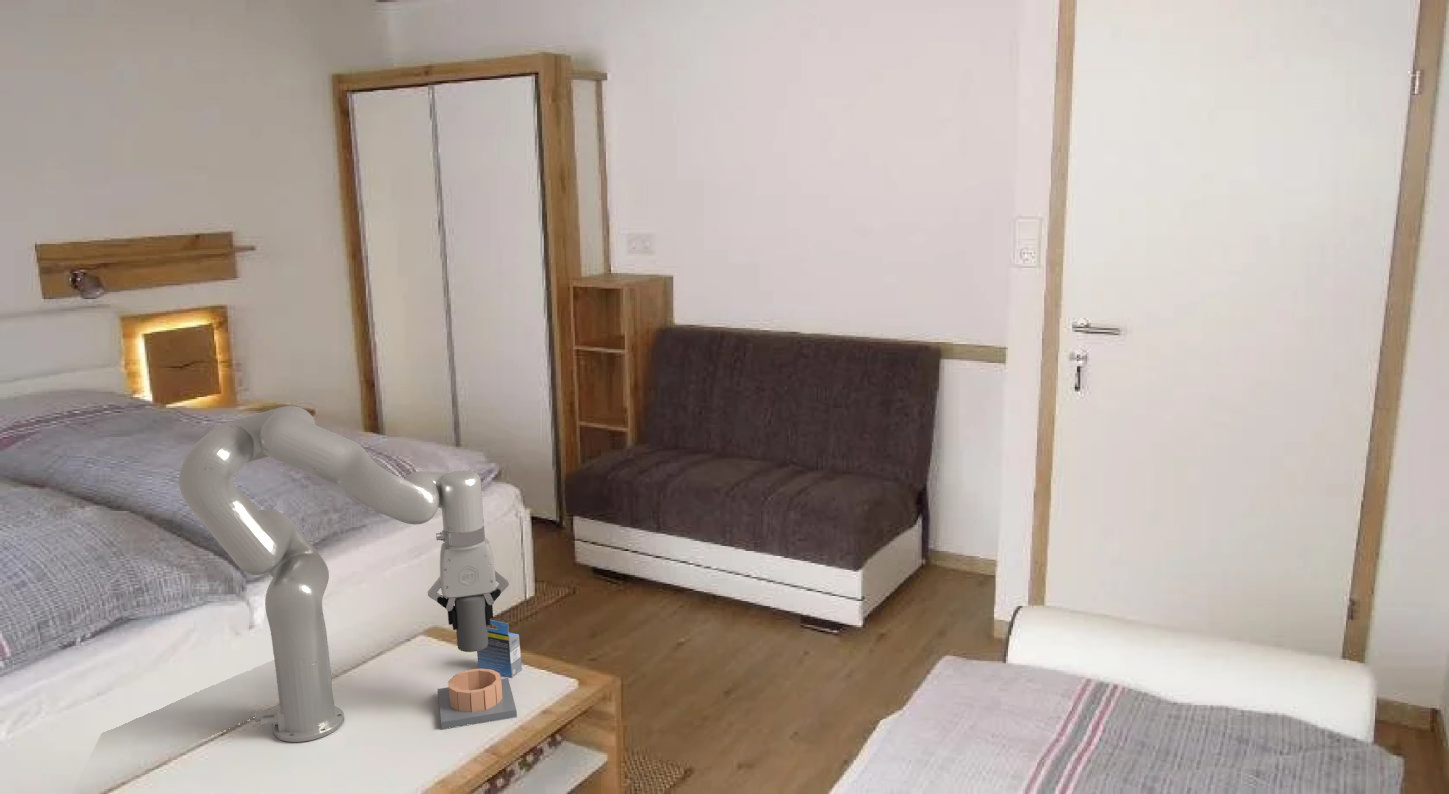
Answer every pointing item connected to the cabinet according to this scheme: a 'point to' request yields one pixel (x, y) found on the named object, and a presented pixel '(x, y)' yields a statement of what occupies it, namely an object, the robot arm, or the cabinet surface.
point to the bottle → (471, 623)
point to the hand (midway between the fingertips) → (471, 624)
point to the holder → (475, 698)
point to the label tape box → (501, 651)
